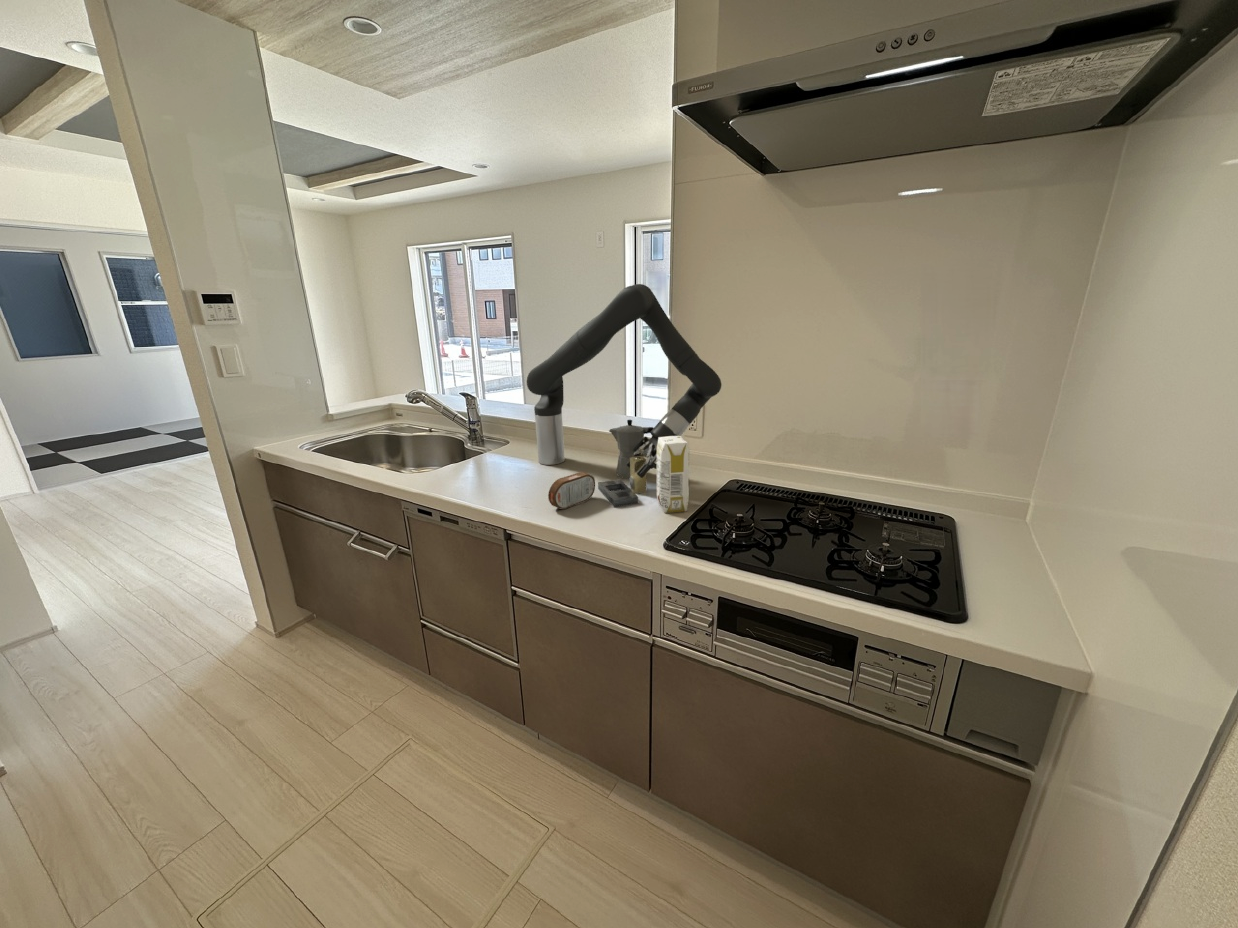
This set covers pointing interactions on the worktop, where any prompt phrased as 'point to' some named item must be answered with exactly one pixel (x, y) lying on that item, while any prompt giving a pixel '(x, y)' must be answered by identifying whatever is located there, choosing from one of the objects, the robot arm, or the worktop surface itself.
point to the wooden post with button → (636, 481)
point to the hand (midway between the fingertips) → (633, 471)
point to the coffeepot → (627, 444)
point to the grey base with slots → (618, 493)
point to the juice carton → (673, 473)
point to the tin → (571, 490)
